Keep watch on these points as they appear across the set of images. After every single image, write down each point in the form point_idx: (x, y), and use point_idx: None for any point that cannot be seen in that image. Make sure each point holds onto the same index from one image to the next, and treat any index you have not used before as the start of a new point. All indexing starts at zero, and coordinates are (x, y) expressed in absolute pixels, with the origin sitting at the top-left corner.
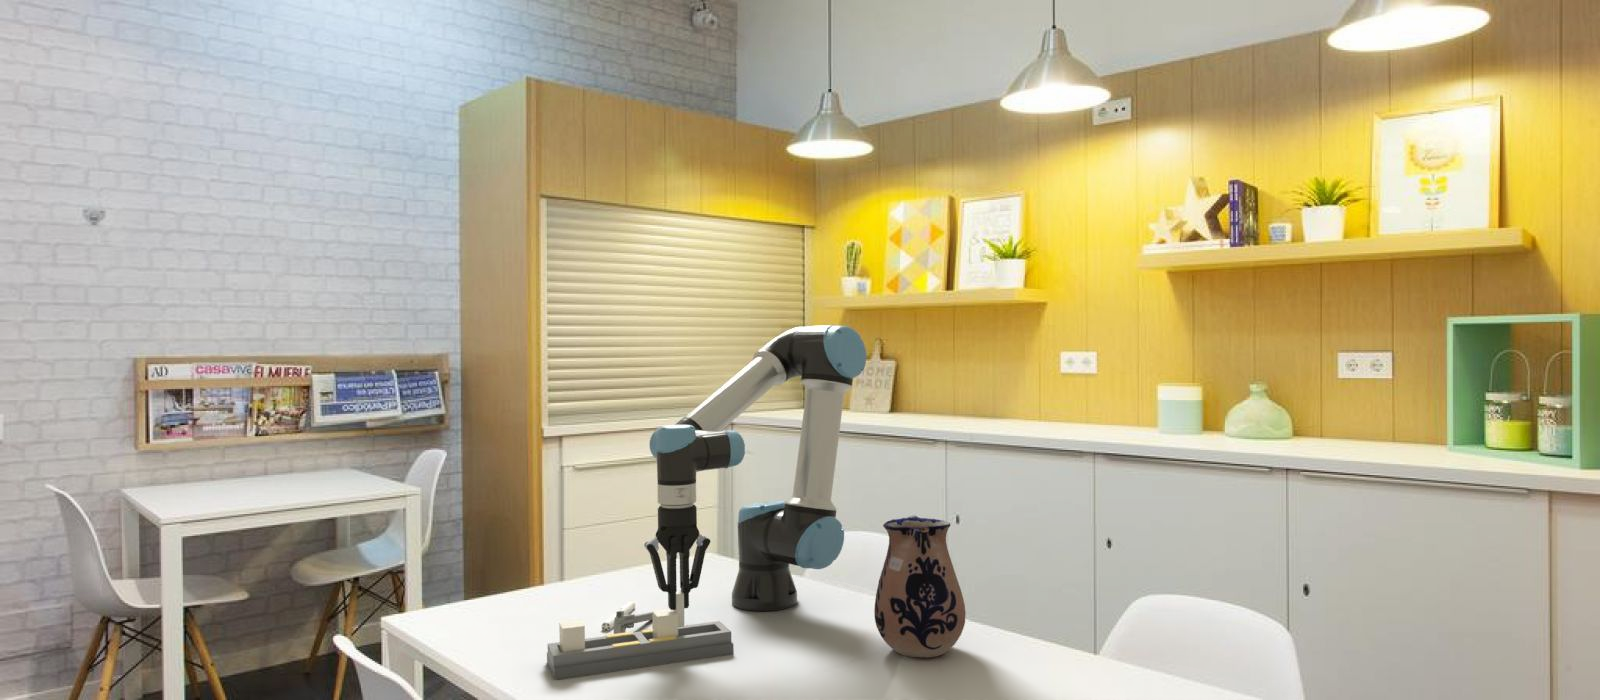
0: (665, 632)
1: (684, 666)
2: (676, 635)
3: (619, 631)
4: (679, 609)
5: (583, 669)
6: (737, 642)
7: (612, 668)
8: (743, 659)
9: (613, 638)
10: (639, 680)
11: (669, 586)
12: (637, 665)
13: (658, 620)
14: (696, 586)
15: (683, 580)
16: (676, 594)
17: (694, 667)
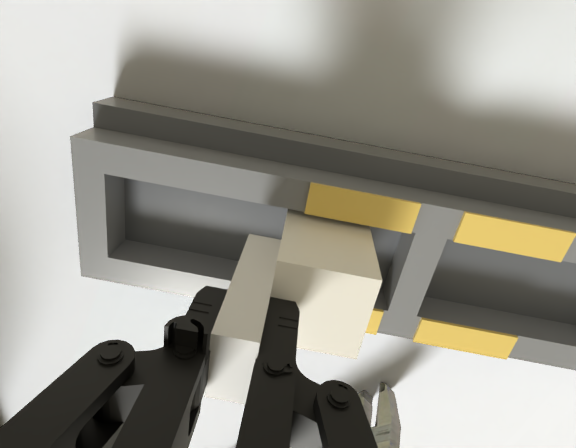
0: (338, 234)
1: (321, 78)
2: (293, 216)
3: (381, 410)
4: (258, 281)
5: None
6: (67, 195)
7: (557, 183)
8: (96, 14)
9: (493, 328)
10: (540, 31)
11: (293, 409)
12: (467, 166)
13: (375, 268)
14: (107, 346)
15: (183, 410)
16: (259, 344)
17: (295, 44)
